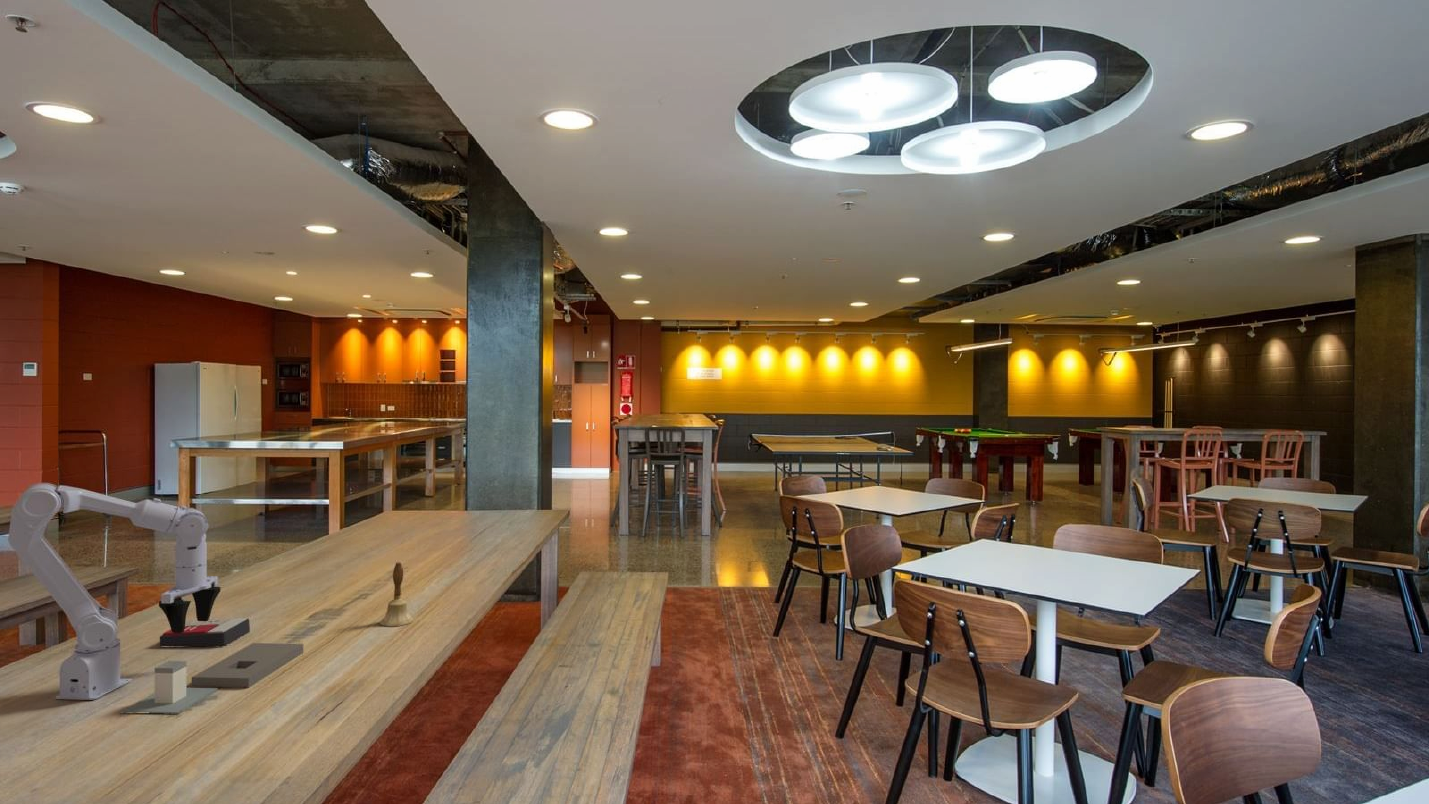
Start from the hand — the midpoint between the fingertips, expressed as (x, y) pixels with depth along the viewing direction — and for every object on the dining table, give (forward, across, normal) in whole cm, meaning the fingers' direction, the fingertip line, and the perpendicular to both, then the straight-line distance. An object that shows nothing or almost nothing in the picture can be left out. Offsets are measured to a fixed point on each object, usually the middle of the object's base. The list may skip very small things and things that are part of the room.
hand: (190, 626), depth 160 cm
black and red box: (+10, +20, +10) cm, 25 cm away
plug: (+10, -15, -7) cm, 19 cm away
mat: (+10, -15, -7) cm, 19 cm away
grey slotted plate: (+10, +2, -12) cm, 16 cm away
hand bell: (+10, +35, -30) cm, 47 cm away
